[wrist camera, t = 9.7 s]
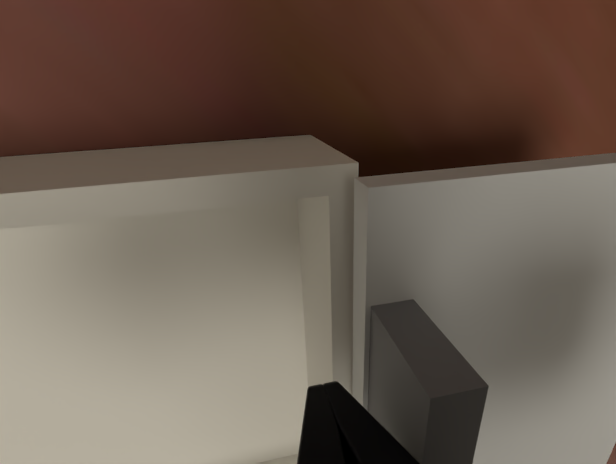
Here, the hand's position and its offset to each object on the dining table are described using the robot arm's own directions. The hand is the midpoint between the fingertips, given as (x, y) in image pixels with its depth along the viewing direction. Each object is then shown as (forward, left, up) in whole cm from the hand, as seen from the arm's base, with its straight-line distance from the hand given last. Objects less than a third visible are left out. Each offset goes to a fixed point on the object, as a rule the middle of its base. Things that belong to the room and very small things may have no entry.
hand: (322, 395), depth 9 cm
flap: (-4, -7, -2) cm, 8 cm away
